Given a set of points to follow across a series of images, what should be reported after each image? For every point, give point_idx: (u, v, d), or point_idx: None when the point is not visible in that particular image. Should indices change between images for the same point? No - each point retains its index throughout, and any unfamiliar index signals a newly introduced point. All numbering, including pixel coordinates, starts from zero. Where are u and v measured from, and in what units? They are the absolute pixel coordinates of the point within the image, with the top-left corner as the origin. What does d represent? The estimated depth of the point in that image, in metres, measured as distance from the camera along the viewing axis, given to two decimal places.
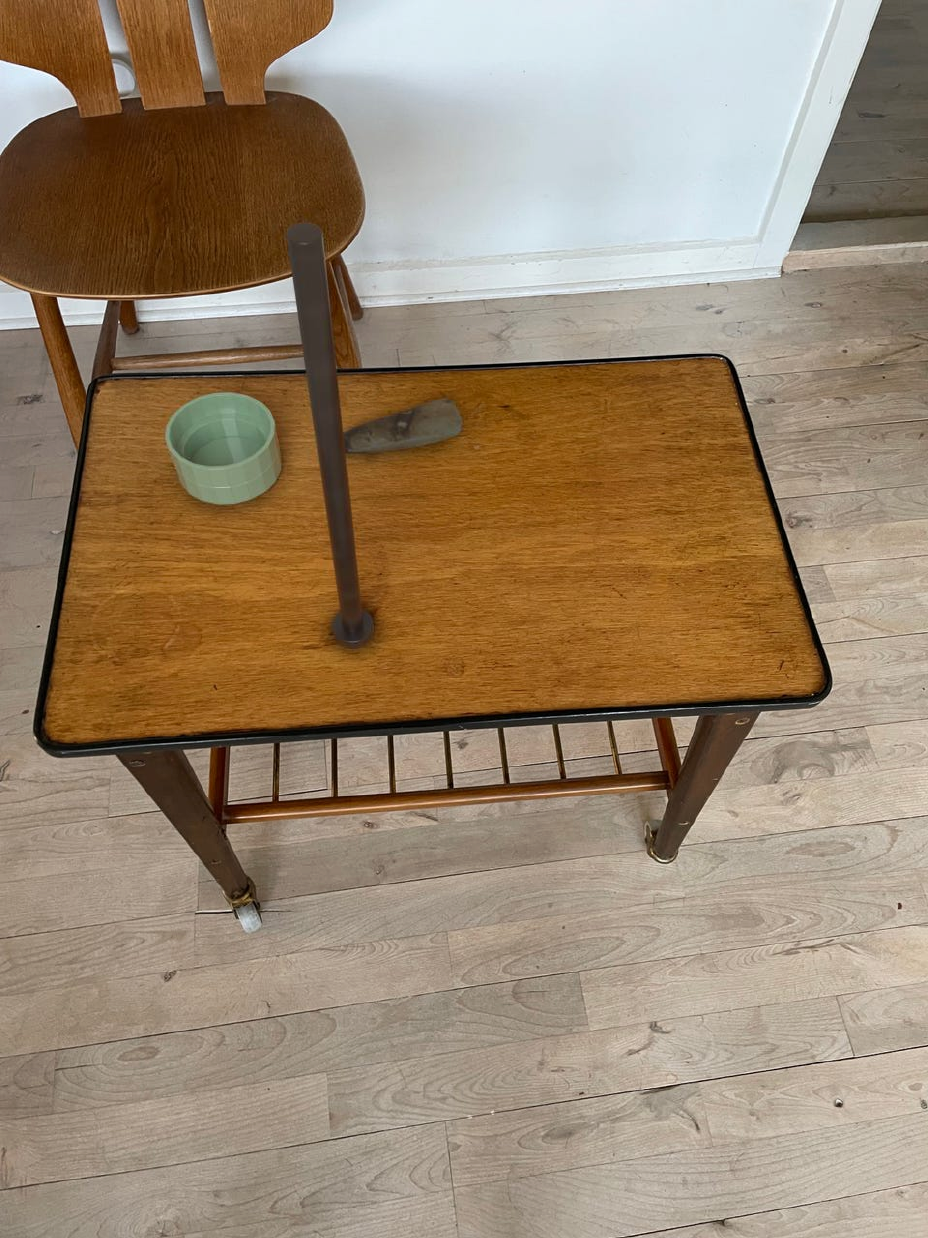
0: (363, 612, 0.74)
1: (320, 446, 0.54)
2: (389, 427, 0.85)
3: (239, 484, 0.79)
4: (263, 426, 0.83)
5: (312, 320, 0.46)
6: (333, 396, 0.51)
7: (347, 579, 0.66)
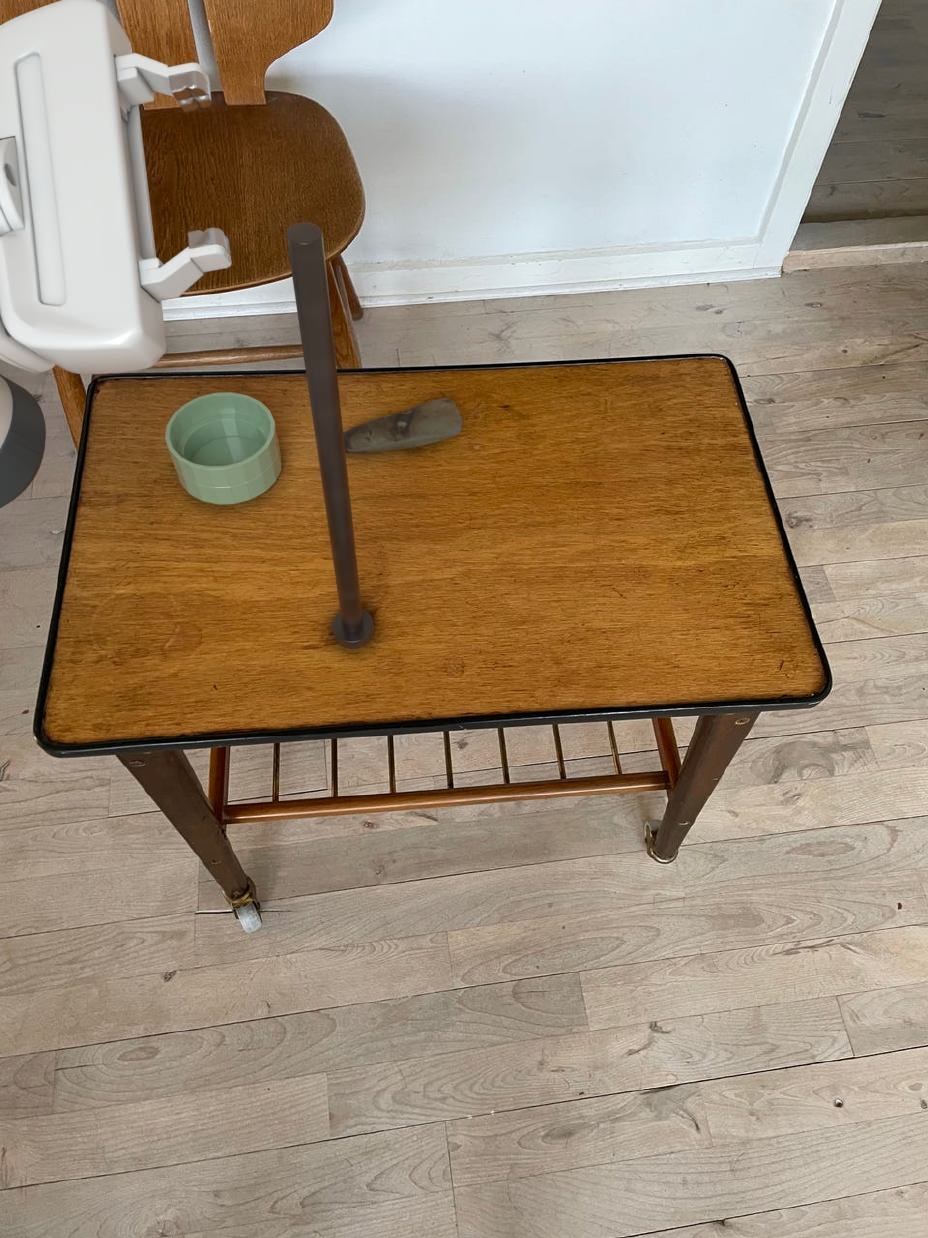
0: (363, 612, 0.74)
1: (320, 446, 0.54)
2: (389, 427, 0.85)
3: (239, 484, 0.79)
4: (263, 426, 0.83)
5: (312, 320, 0.46)
6: (333, 396, 0.51)
7: (347, 579, 0.66)
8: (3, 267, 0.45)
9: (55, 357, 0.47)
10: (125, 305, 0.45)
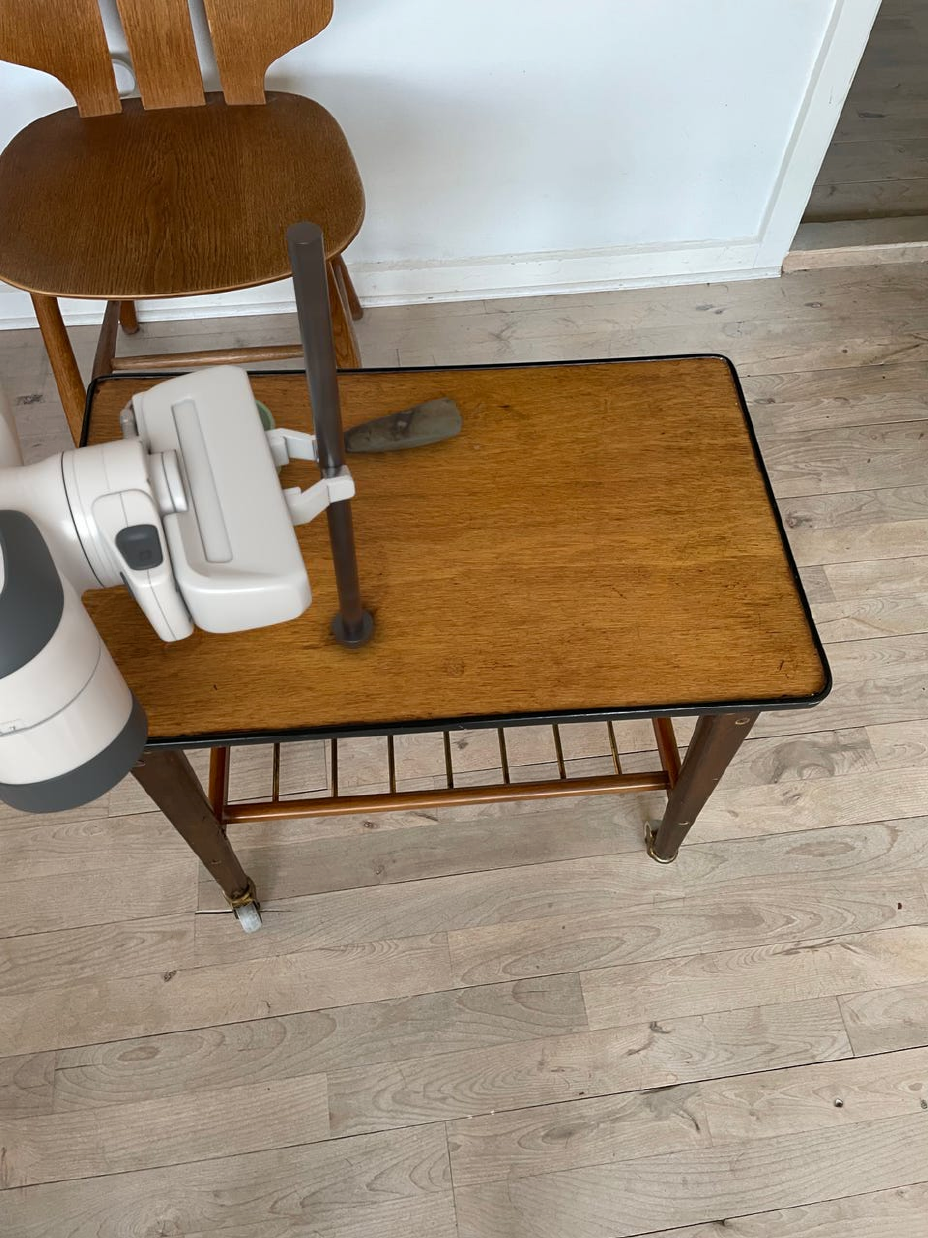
0: (363, 612, 0.74)
1: (320, 446, 0.54)
2: (389, 426, 0.85)
3: None
4: (263, 426, 0.83)
5: (312, 320, 0.46)
6: (333, 395, 0.51)
7: (347, 579, 0.66)
8: (177, 534, 0.50)
9: (218, 607, 0.49)
10: (291, 555, 0.50)
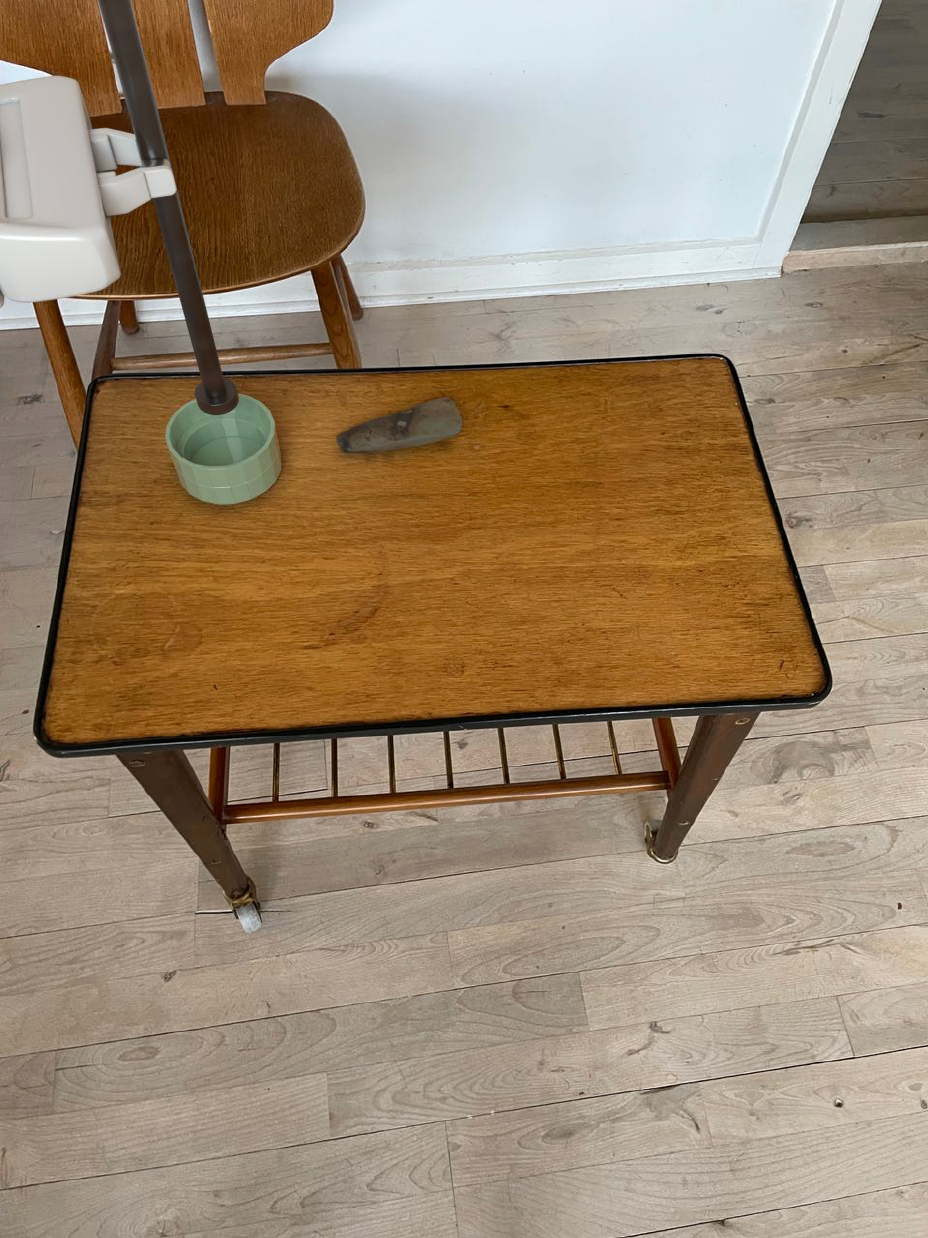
0: (227, 381, 0.74)
1: (136, 130, 0.54)
2: (389, 426, 0.85)
3: (239, 484, 0.79)
4: (263, 426, 0.83)
5: None
6: (136, 58, 0.51)
7: (196, 320, 0.67)
8: None
9: (15, 259, 0.50)
10: (91, 215, 0.51)
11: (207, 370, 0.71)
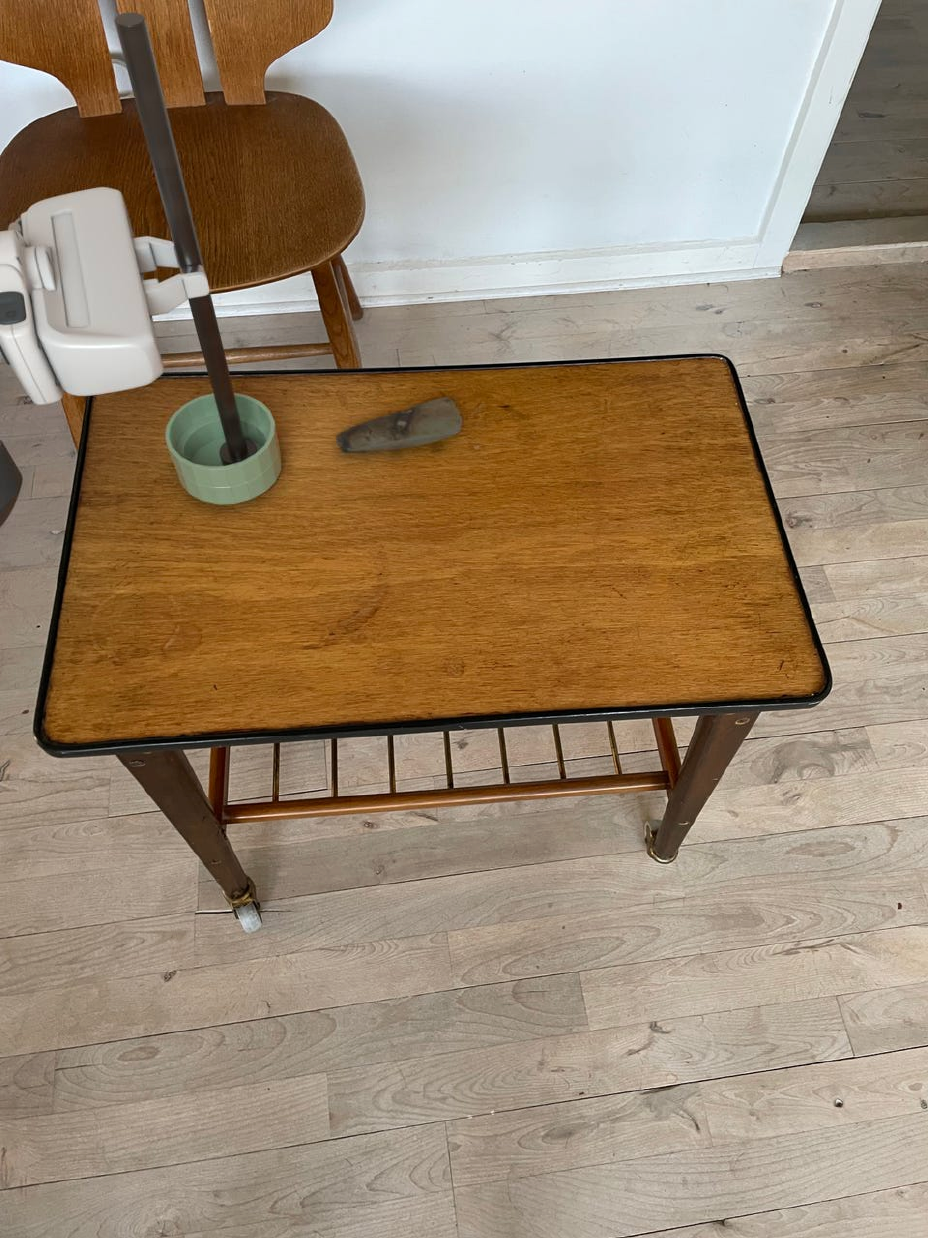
0: (248, 441, 0.83)
1: (175, 243, 0.63)
2: (389, 426, 0.85)
3: (239, 484, 0.79)
4: (263, 426, 0.83)
5: (147, 106, 0.55)
6: (178, 188, 0.59)
7: (222, 394, 0.75)
8: (41, 302, 0.58)
9: (76, 363, 0.58)
10: (140, 323, 0.59)
11: (231, 434, 0.79)
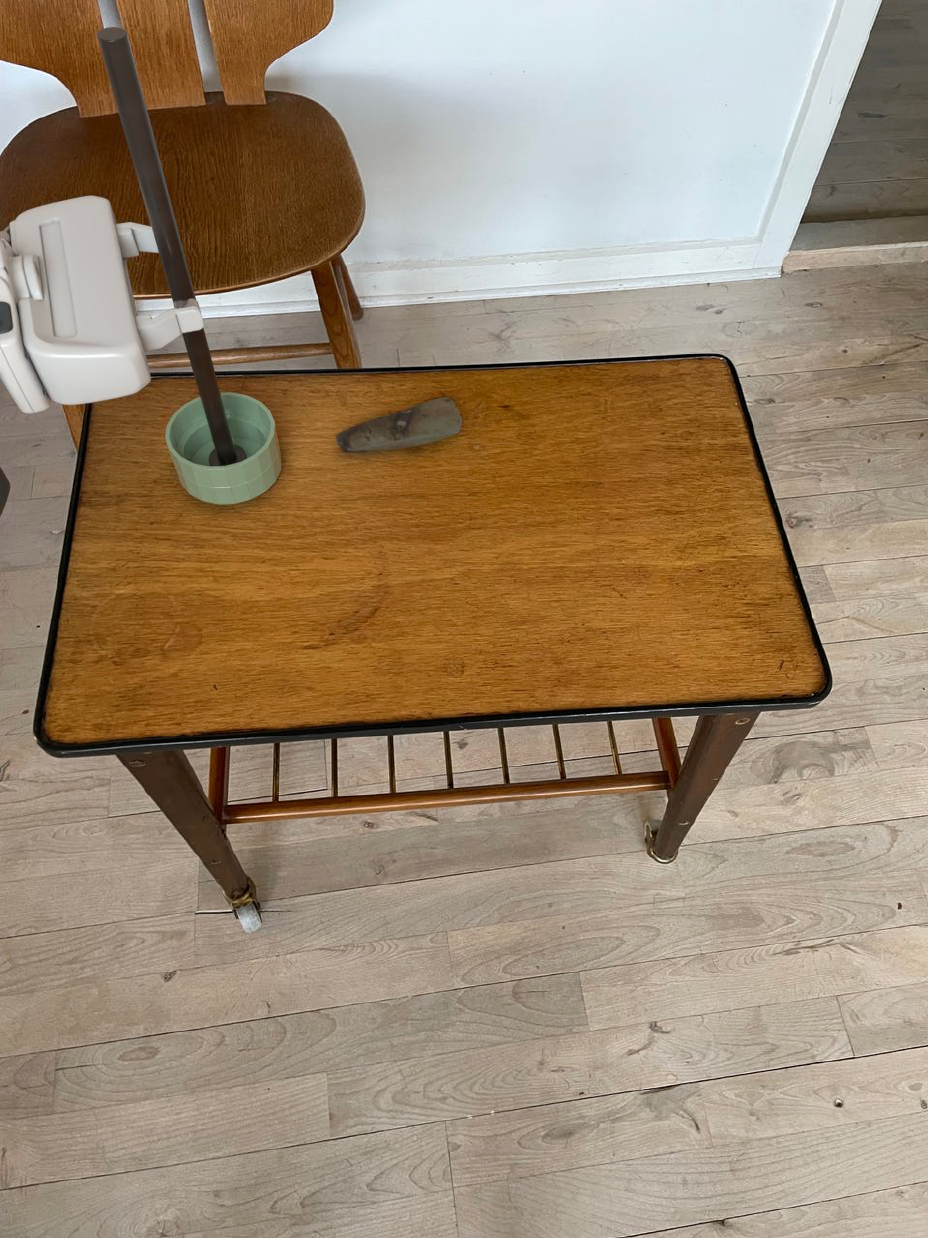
0: (237, 447, 0.83)
1: (161, 253, 0.63)
2: (389, 426, 0.85)
3: (239, 484, 0.79)
4: (263, 426, 0.83)
5: (130, 119, 0.55)
6: (163, 199, 0.60)
7: (211, 401, 0.75)
8: (28, 311, 0.59)
9: (63, 373, 0.58)
10: (126, 333, 0.59)
11: (220, 441, 0.80)
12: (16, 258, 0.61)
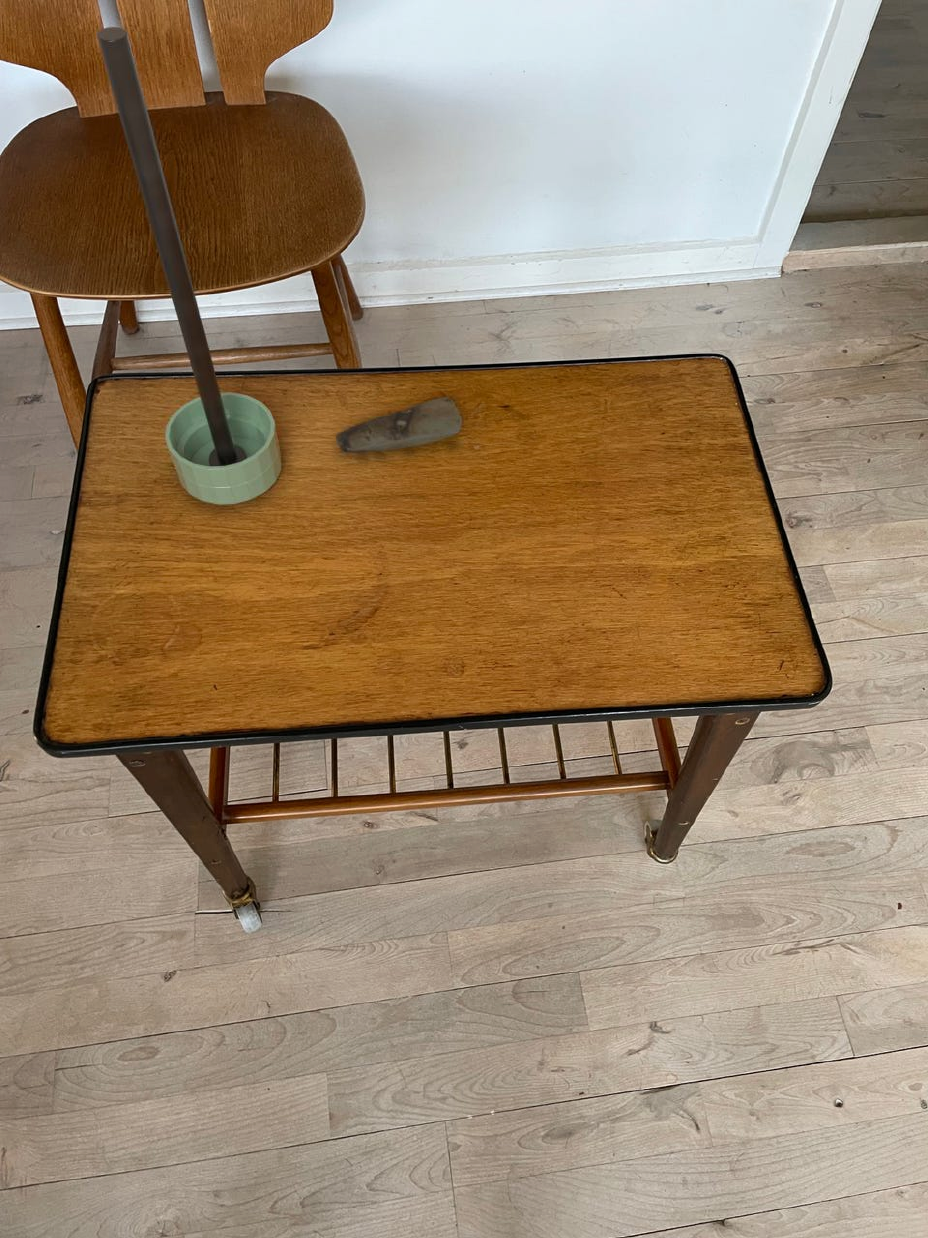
0: (237, 447, 0.83)
1: (161, 253, 0.63)
2: (389, 426, 0.85)
3: (239, 484, 0.79)
4: (263, 426, 0.83)
5: (130, 119, 0.55)
6: (163, 199, 0.60)
7: (211, 401, 0.75)
8: None
9: None
10: None
11: (220, 441, 0.80)
12: None
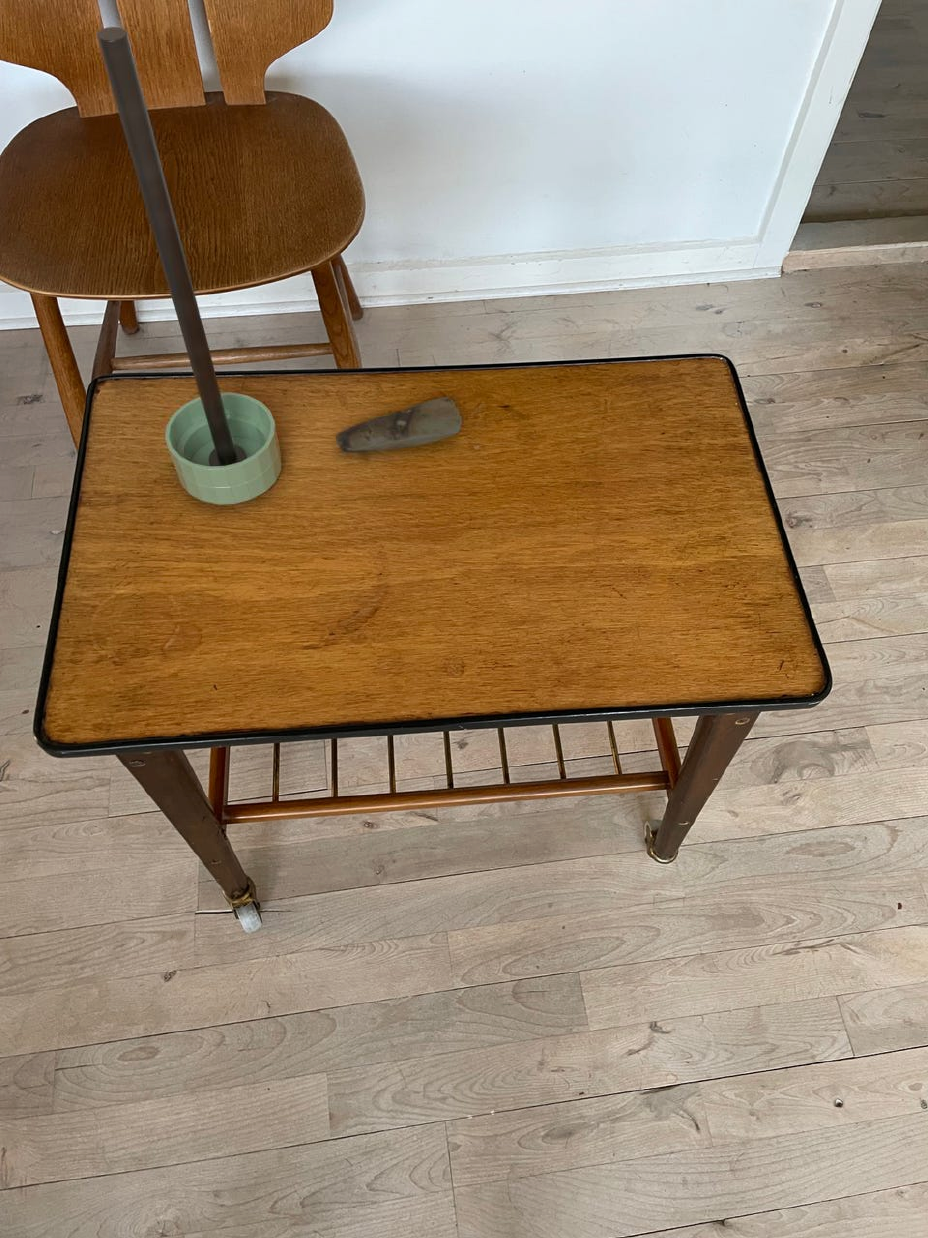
0: (237, 447, 0.83)
1: (161, 253, 0.63)
2: (389, 426, 0.85)
3: (239, 484, 0.79)
4: (263, 426, 0.83)
5: (130, 119, 0.55)
6: (163, 199, 0.60)
7: (211, 401, 0.75)
8: None
9: None
10: None
11: (220, 441, 0.80)
12: None
